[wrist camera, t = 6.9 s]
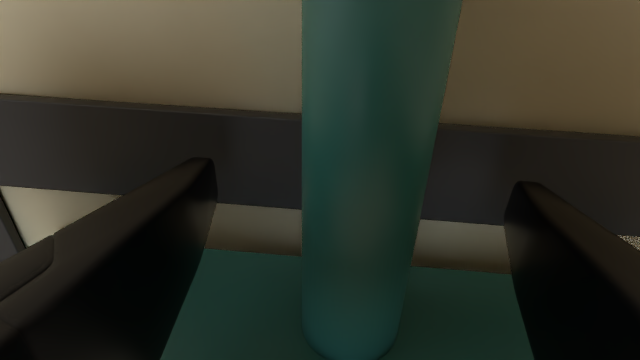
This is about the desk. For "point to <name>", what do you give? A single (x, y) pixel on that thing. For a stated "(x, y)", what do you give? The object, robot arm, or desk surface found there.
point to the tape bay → (299, 159)
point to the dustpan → (357, 214)
